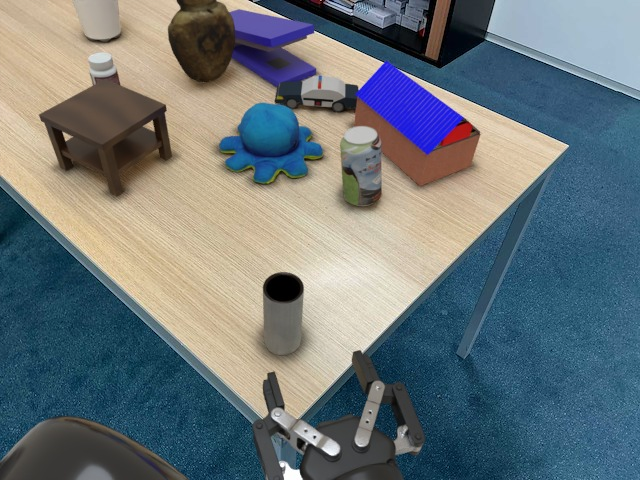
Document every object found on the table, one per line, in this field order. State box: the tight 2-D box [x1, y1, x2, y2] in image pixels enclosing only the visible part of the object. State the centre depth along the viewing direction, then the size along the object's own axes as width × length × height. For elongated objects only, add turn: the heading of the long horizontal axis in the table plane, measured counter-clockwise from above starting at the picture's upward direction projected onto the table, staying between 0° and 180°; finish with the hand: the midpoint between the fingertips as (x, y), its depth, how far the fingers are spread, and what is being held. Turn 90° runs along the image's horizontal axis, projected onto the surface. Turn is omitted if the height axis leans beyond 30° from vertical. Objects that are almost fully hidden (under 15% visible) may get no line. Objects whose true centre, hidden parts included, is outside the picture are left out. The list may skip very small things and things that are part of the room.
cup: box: [71, 0, 122, 43], centre depth 115 cm, size 10×10×13 cm
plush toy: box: [218, 102, 324, 184], centre depth 91 cm, size 17×17×8 cm
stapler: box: [229, 8, 318, 88], centre depth 114 cm, size 12×28×10 cm, turn 43°
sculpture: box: [167, 0, 235, 83], centre depth 102 cm, size 13×8×20 cm, turn 123°
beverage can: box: [339, 126, 383, 207], centre depth 83 cm, size 6×7×12 cm
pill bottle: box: [87, 51, 121, 86], centre depth 99 cm, size 5×5×8 cm
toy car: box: [274, 74, 360, 113], centre depth 104 cm, size 5×16×5 cm, turn 88°
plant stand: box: [38, 79, 173, 197], centre depth 86 cm, size 13×13×10 cm
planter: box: [262, 271, 305, 356], centre depth 63 cm, size 4×4×10 cm
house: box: [353, 60, 482, 187], centre depth 93 cm, size 12×20×12 cm, turn 32°
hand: (313, 365), depth 52 cm, fingers open, 8 cm apart
